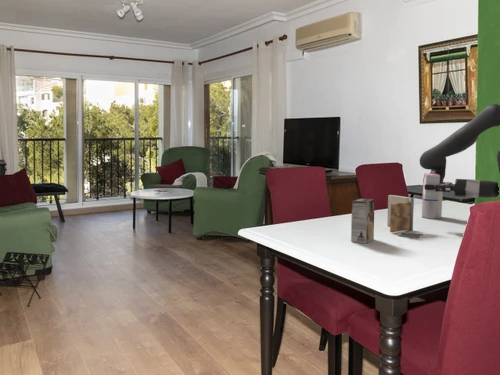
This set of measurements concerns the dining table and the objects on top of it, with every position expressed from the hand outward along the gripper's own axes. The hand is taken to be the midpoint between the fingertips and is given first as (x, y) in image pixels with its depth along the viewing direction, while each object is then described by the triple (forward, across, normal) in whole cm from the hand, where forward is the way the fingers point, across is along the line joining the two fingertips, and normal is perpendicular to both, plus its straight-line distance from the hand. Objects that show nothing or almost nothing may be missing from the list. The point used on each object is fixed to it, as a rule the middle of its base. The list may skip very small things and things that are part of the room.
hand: (425, 186), depth 200 cm
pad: (+3, +20, +18) cm, 27 cm away
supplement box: (-2, 0, +6) cm, 7 cm away
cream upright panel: (+9, +6, +19) cm, 22 cm away
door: (+7, +15, +18) cm, 24 cm away
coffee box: (+19, +38, +18) cm, 46 cm away
